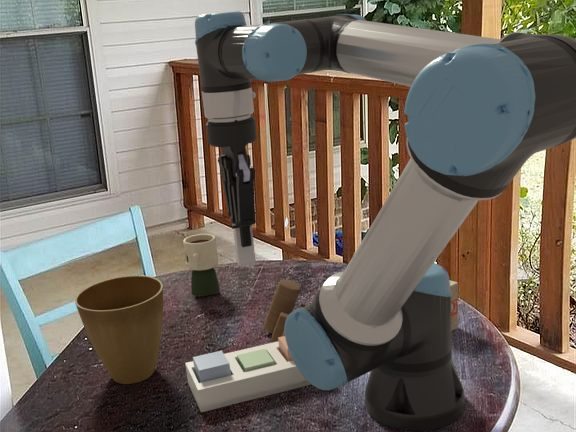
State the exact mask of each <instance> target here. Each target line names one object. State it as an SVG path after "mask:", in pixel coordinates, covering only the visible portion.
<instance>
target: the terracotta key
mask: <svg viewBox="0 0 576 432" xmlns="http://www.w3.org/2000/svg"><path fill="white" fill-rule="evenodd" d="M278 343H279V352H280V353H281V355H282V356H283V357H284V359H285V360H286V361H287V362H289V361H293V359H292V357H291V355H290V353H289V350H288V346H287V343H286V339H285V336H283V337H278Z"/></svg>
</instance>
